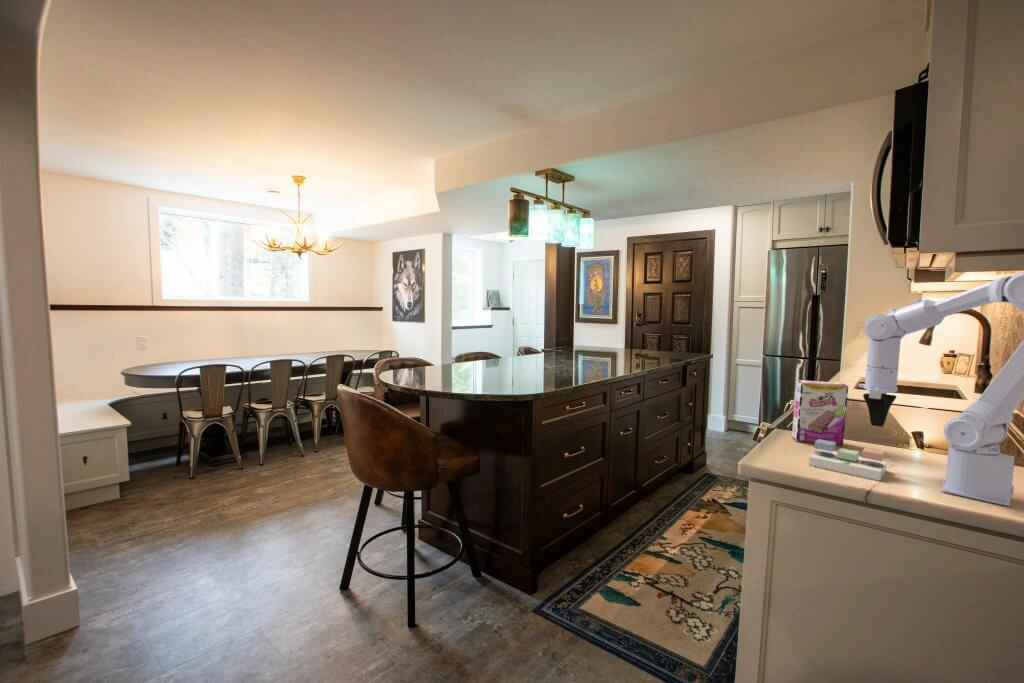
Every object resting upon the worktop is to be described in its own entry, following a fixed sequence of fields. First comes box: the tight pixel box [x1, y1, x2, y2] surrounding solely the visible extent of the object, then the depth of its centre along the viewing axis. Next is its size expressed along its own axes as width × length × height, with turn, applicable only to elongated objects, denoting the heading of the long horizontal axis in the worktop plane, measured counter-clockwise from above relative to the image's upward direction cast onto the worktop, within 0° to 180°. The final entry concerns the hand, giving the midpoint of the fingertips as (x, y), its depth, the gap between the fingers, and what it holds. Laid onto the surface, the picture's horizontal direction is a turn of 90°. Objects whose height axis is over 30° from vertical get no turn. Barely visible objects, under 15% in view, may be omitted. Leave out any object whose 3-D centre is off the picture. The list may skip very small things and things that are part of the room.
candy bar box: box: [791, 379, 849, 446], centre depth 127 cm, size 11×5×16 cm, turn 74°
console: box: [808, 449, 888, 482], centre depth 107 cm, size 13×9×2 cm
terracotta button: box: [861, 447, 886, 462], centre depth 103 cm, size 4×4×2 cm
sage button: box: [836, 447, 860, 461], centre depth 107 cm, size 4×4×2 cm
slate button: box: [814, 439, 837, 452], centre depth 110 cm, size 4×4×2 cm
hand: (877, 425), depth 108 cm, fingers closed
